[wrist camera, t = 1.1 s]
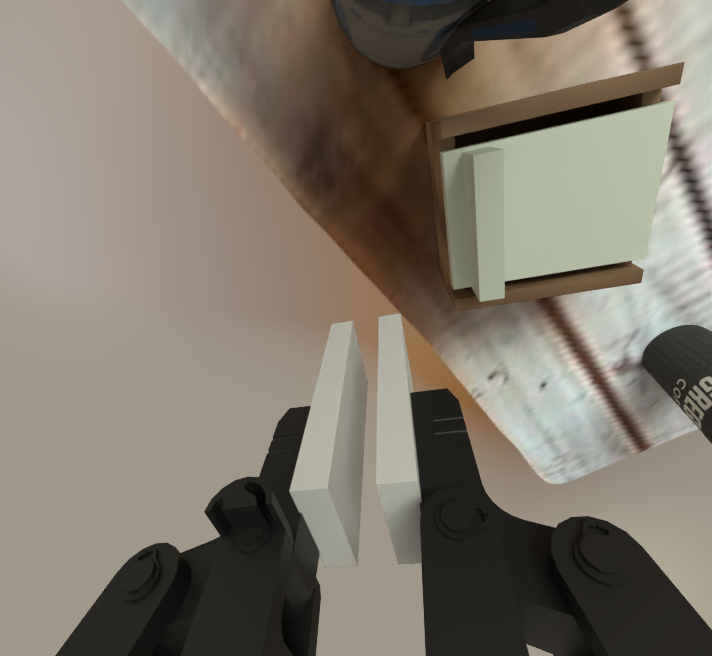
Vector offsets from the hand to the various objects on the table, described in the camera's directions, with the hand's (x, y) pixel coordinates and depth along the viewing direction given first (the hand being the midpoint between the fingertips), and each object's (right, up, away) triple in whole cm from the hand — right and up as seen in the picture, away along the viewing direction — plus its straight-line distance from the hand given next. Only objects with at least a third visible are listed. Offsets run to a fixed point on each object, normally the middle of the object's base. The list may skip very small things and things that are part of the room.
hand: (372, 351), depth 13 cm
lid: (+12, +9, +11) cm, 19 cm away
